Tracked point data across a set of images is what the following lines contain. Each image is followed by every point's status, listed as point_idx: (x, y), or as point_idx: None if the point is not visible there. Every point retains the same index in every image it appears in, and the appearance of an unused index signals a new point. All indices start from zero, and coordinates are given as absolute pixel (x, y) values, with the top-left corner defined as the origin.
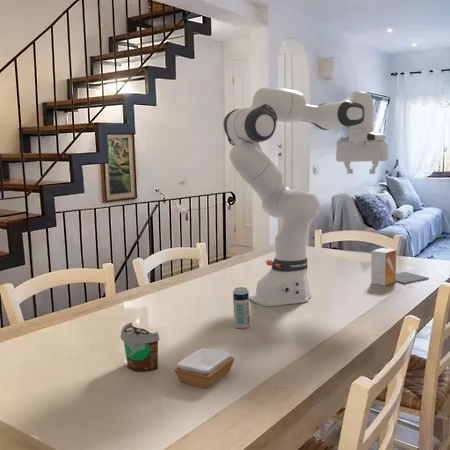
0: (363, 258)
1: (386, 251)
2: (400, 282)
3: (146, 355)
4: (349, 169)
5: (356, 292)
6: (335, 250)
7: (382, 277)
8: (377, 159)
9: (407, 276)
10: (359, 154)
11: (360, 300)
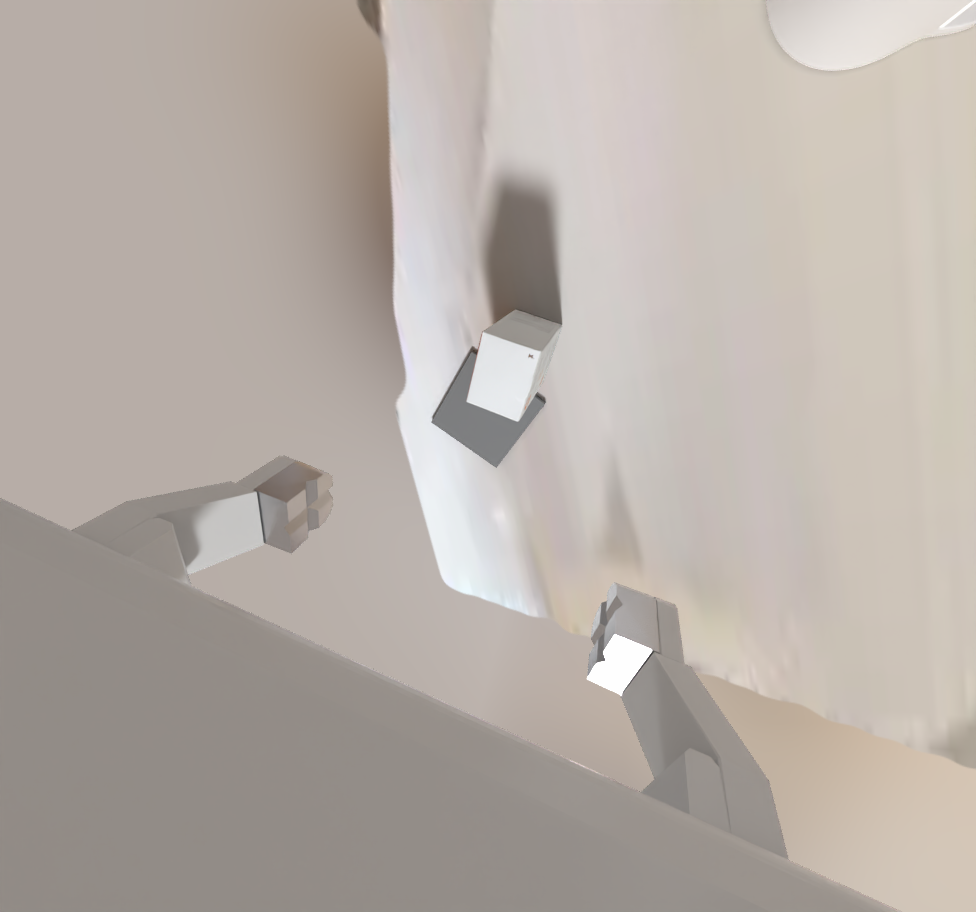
0: None
1: (486, 357)
2: None
3: None
4: (633, 636)
5: (585, 183)
6: (743, 680)
7: (518, 316)
8: None
9: (480, 421)
10: (190, 872)
11: (550, 71)
